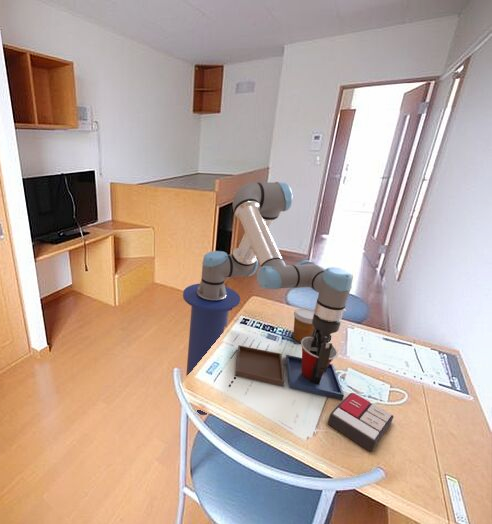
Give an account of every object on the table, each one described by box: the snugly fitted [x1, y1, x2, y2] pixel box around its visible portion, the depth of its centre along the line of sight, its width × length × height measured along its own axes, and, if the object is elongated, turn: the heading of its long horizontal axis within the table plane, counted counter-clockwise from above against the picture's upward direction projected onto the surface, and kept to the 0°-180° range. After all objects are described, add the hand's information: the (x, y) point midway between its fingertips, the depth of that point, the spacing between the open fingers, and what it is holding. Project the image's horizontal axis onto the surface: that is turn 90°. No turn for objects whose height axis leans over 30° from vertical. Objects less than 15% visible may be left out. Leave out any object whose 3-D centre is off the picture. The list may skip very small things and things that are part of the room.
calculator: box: [327, 392, 394, 452], centre depth 86 cm, size 11×4×15 cm
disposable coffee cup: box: [292, 307, 314, 343], centre depth 123 cm, size 10×10×12 cm
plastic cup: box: [300, 337, 339, 379], centre depth 102 cm, size 11×11×12 cm
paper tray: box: [235, 344, 285, 387], centre depth 109 cm, size 15×15×2 cm
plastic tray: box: [284, 354, 345, 401], centre depth 104 cm, size 15×15×2 cm
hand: (312, 374), depth 103 cm, fingers closed on plastic cup, 8 cm apart
